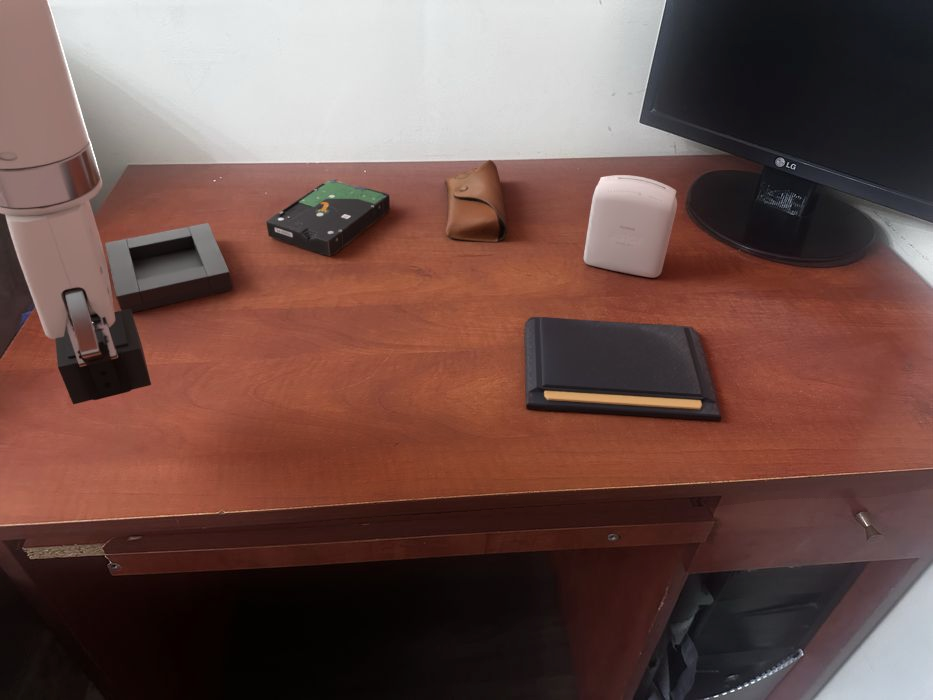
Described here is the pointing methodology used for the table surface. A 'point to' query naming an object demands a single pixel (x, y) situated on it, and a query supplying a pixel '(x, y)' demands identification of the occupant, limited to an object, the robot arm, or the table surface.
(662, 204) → the photo printer
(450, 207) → the sunglasses case
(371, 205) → the disk drive
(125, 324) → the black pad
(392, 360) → the table surface
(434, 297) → the table surface
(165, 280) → the docking pad
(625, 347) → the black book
